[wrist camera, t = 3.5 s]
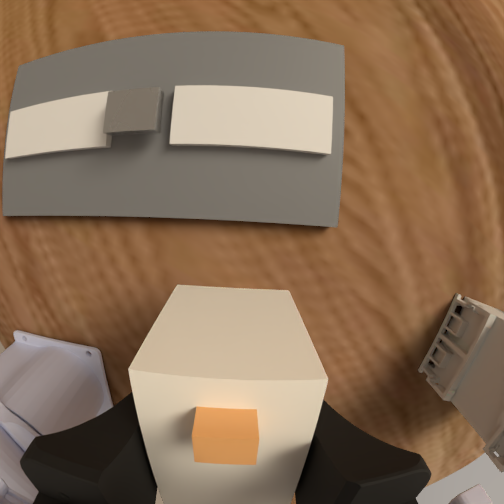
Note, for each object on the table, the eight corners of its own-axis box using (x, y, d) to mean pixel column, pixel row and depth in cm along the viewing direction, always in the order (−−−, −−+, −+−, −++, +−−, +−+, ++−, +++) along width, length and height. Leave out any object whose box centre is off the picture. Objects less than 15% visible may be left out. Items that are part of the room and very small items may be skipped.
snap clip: (111, 135, 15) (103, 132, 14) (116, 97, 14) (108, 91, 13) (160, 133, 15) (154, 129, 14) (164, 93, 14) (159, 86, 13)
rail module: (185, 424, 13) (166, 535, 7) (177, 284, 12) (113, 395, 5) (270, 428, 14) (285, 540, 7) (288, 290, 12) (340, 406, 5)
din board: (10, 214, 17) (-4, 217, 15) (25, 68, 15) (13, 63, 13) (332, 225, 18) (341, 229, 17) (339, 51, 16) (348, 40, 14)
